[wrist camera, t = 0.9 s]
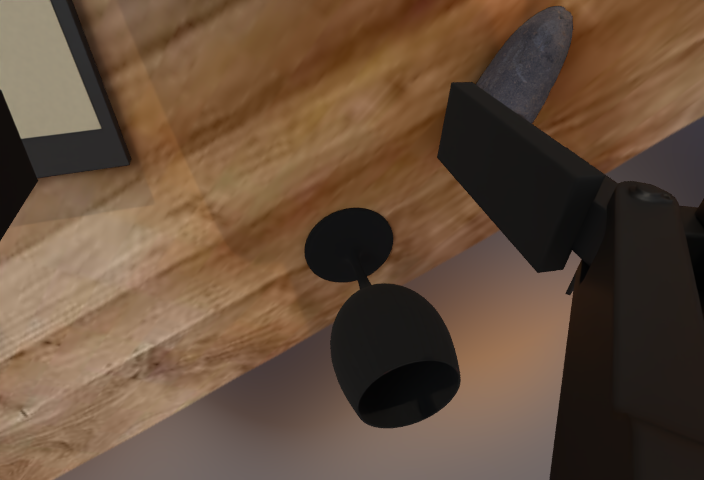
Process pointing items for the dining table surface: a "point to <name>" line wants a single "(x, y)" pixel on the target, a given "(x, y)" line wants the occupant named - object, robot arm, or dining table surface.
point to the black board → (56, 90)
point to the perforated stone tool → (530, 62)
